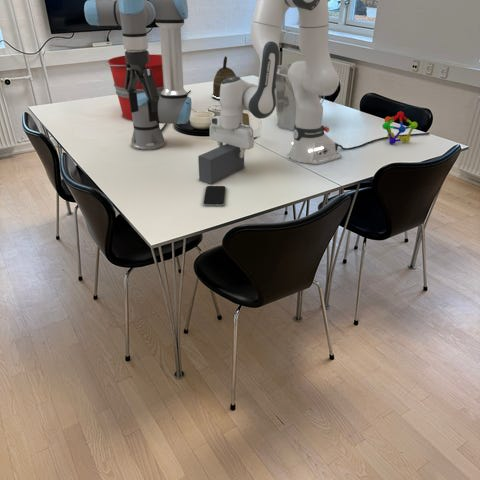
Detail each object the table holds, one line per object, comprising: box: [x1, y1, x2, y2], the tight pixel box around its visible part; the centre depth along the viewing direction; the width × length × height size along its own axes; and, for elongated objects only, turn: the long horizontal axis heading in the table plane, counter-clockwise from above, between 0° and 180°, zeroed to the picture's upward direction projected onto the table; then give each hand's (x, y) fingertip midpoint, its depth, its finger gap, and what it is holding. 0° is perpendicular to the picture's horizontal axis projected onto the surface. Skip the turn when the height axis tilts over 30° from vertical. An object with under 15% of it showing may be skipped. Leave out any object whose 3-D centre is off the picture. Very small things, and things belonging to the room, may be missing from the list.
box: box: [197, 143, 245, 185], centre depth 176 cm, size 21×6×10 cm, turn 142°
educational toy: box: [382, 110, 418, 145], centre depth 207 cm, size 16×13×15 cm
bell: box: [212, 56, 237, 97], centre depth 278 cm, size 19×26×20 cm
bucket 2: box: [275, 63, 325, 131], centre depth 226 cm, size 30×30×28 cm
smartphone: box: [203, 185, 226, 207], centre depth 161 cm, size 7×1×15 cm
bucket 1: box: [104, 53, 164, 121], centre depth 240 cm, size 35×35×30 cm
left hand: (143, 116), depth 153 cm, fingers open, 13 cm apart
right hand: (231, 154), depth 180 cm, fingers open, 8 cm apart
